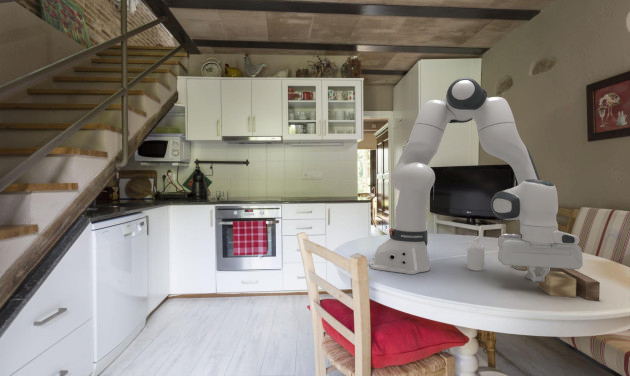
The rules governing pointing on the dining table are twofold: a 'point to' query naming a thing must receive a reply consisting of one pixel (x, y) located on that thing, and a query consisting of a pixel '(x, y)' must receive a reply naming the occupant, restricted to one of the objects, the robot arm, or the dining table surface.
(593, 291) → the walnut board
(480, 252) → the white bottle
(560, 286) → the oak block
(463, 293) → the dining table surface
